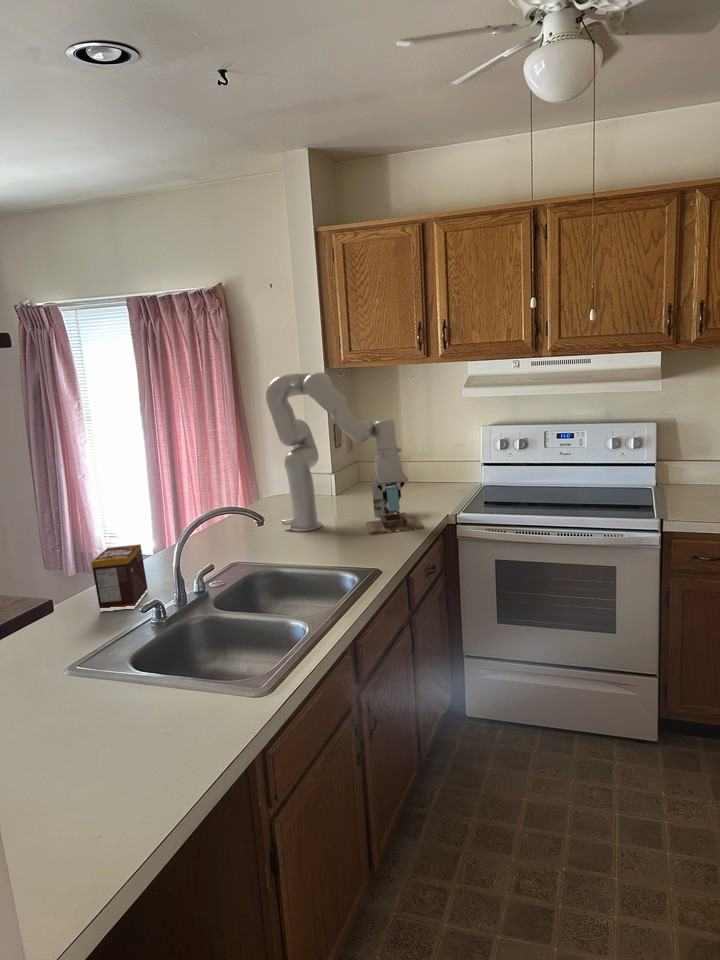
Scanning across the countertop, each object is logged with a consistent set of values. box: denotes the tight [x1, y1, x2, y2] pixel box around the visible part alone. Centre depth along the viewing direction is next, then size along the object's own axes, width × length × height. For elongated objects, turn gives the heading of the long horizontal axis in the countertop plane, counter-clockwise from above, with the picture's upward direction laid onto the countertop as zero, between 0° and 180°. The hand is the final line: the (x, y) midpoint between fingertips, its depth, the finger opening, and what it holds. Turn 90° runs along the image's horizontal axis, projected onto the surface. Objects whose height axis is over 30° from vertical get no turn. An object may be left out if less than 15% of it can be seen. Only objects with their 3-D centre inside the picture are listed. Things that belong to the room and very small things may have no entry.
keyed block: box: [385, 486, 401, 511], centre depth 271 cm, size 7×4×8 cm, turn 5°
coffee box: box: [370, 476, 400, 518], centre depth 291 cm, size 9×6×16 cm
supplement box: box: [91, 544, 148, 609], centre depth 215 cm, size 10×15×16 cm
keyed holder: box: [365, 512, 424, 535], centre depth 273 cm, size 20×16×4 cm
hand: (392, 500), depth 271 cm, fingers closed on keyed block, 4 cm apart
